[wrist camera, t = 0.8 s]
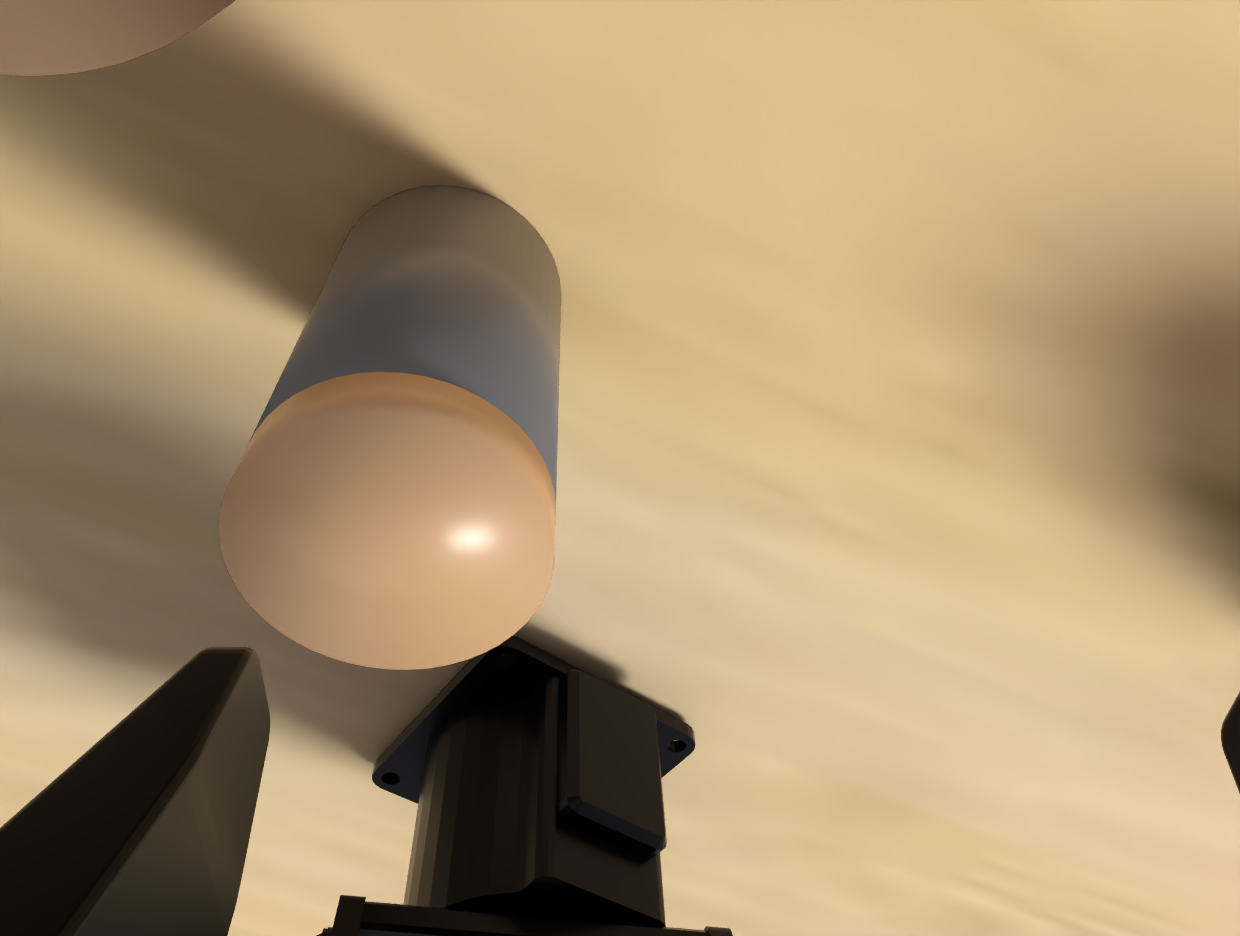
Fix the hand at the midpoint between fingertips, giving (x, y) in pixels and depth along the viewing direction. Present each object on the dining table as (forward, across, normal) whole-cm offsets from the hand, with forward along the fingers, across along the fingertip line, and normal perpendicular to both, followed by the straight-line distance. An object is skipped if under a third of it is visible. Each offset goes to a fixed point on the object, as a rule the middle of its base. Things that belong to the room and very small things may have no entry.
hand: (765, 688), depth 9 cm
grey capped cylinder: (+12, +4, +2) cm, 13 cm away
